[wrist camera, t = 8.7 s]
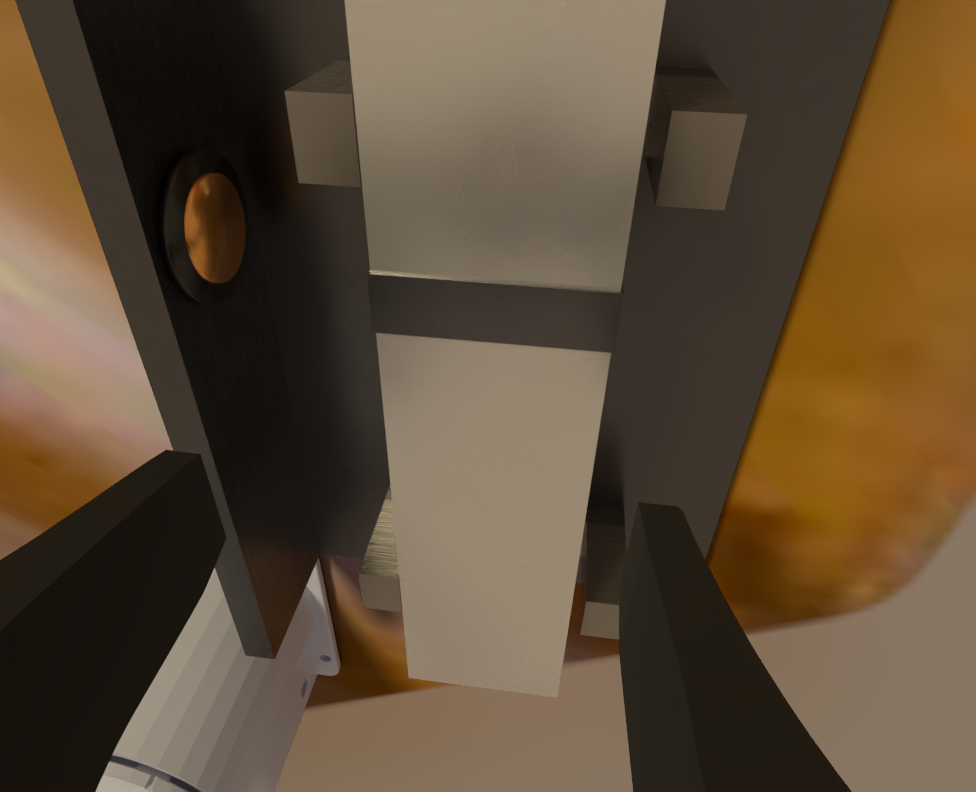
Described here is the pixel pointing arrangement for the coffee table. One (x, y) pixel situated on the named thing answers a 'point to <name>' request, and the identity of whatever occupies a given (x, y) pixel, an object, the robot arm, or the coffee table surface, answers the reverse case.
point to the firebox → (345, 262)
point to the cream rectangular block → (496, 302)
